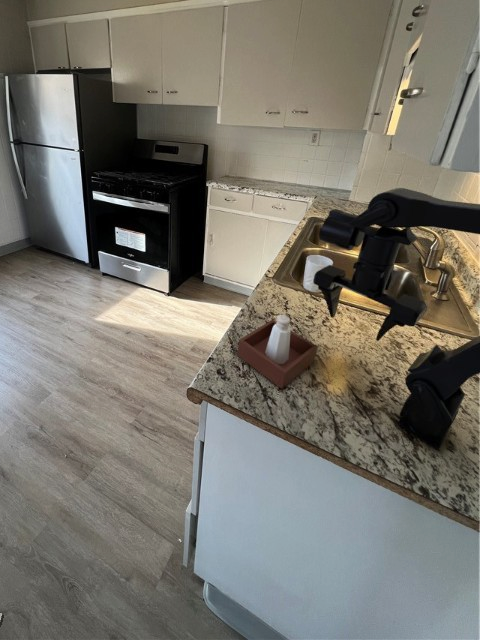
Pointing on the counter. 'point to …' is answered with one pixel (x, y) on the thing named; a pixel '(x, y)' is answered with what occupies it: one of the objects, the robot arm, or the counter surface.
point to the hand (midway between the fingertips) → (354, 327)
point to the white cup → (314, 270)
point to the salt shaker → (279, 341)
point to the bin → (281, 375)
